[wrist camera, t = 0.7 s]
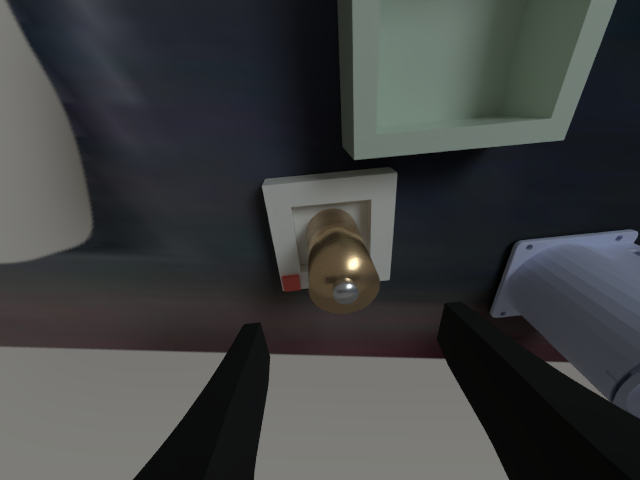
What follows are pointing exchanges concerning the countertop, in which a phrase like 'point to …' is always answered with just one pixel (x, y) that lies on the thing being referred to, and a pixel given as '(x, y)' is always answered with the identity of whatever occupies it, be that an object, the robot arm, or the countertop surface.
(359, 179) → the white square recessed tray
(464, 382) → the robot arm
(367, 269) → the cell
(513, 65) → the grey-green square tray
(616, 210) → the countertop surface
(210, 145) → the countertop surface
